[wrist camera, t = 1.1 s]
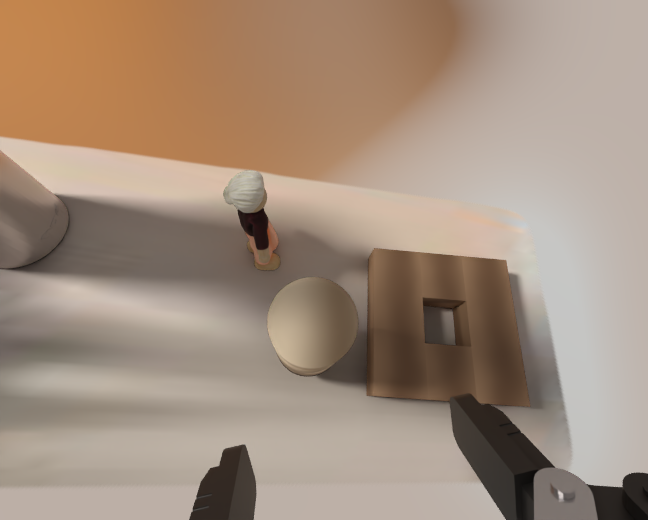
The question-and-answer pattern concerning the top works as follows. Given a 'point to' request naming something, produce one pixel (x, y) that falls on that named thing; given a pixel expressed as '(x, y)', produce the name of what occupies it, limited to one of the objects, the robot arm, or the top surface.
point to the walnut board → (469, 321)
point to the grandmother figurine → (254, 217)
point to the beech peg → (312, 325)
